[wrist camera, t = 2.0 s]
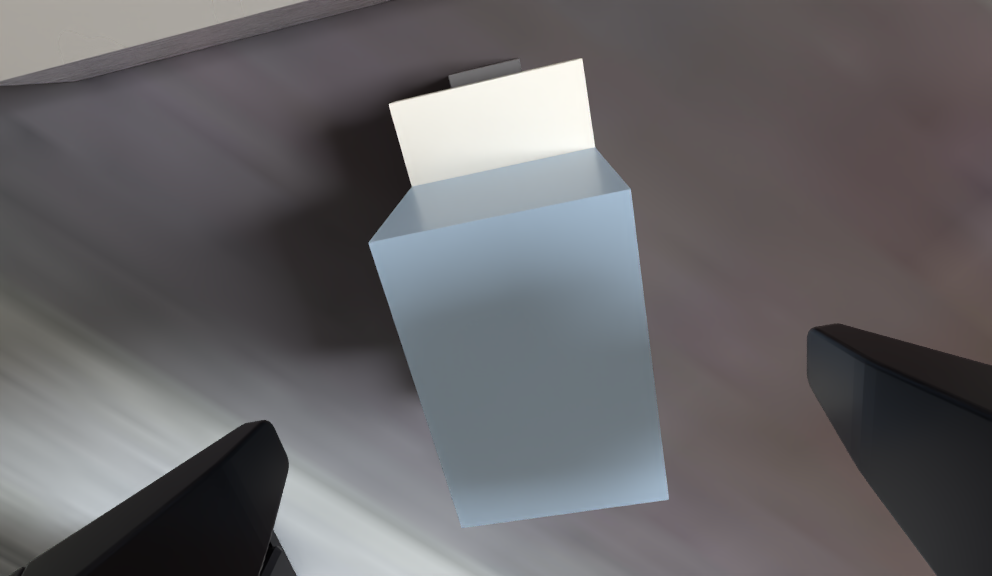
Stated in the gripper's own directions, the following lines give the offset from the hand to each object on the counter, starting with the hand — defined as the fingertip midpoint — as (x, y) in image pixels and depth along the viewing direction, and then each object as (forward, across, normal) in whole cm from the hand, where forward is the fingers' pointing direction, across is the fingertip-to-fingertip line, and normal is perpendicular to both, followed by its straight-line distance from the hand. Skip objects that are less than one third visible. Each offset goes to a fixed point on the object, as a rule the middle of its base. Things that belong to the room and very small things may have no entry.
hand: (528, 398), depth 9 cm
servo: (+8, 0, 0) cm, 8 cm away
